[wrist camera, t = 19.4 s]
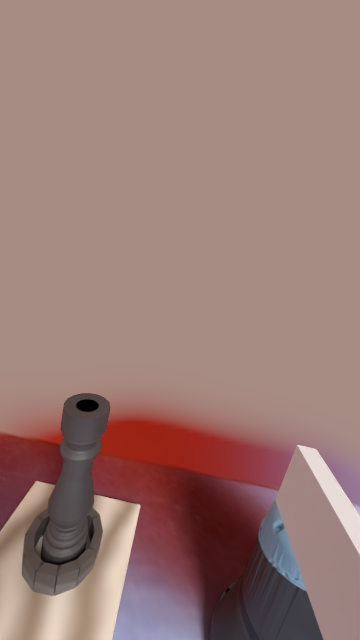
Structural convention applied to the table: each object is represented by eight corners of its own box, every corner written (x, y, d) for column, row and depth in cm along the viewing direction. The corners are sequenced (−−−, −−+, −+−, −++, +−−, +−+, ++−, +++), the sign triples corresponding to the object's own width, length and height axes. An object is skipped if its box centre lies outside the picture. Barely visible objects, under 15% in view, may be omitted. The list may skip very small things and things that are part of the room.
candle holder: (55, 587, 35) (81, 427, 29) (31, 552, 38) (50, 402, 32) (93, 549, 40) (122, 408, 35) (69, 521, 43) (92, 387, 38)
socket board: (138, 511, 49) (144, 490, 48) (103, 675, 30) (111, 646, 29) (35, 487, 49) (38, 465, 48) (-68, 635, 30) (-68, 605, 29)
